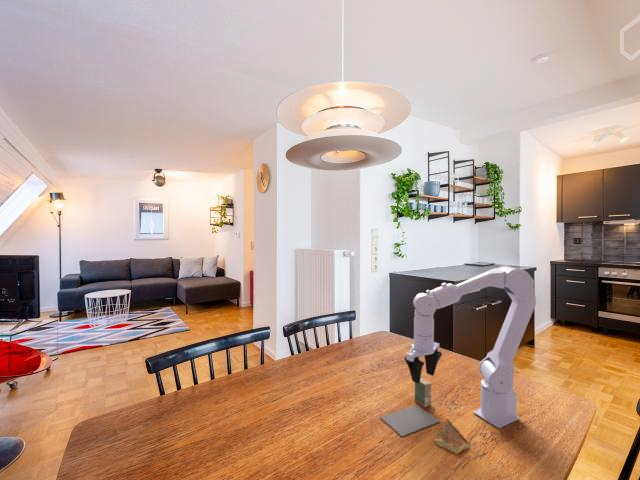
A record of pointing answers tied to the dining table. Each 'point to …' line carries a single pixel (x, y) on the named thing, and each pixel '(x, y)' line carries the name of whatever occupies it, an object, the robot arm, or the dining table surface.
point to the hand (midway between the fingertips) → (423, 378)
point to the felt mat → (409, 420)
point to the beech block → (423, 392)
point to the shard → (451, 438)
